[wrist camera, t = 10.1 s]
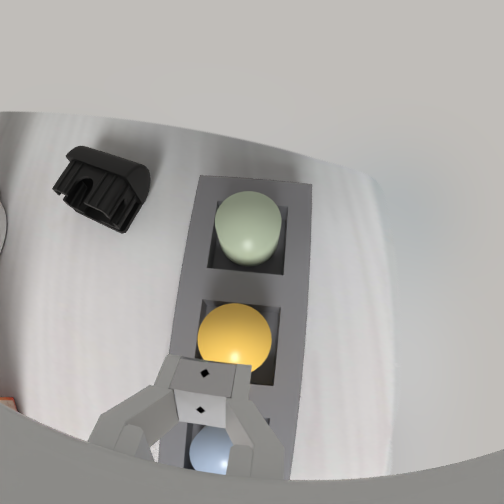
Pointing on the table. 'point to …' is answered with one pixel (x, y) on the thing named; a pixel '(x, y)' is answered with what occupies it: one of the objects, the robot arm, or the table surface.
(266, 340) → the amber button
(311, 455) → the table surface
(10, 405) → the cracker box
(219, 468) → the slate button
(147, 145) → the table surface
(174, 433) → the button console
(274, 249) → the sage button
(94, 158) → the end cap
